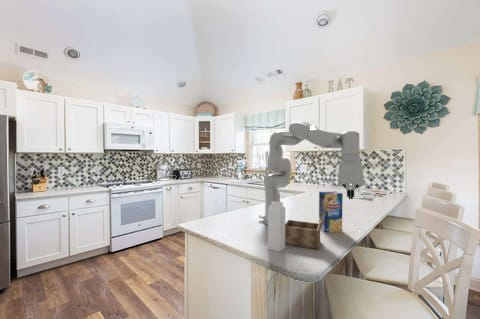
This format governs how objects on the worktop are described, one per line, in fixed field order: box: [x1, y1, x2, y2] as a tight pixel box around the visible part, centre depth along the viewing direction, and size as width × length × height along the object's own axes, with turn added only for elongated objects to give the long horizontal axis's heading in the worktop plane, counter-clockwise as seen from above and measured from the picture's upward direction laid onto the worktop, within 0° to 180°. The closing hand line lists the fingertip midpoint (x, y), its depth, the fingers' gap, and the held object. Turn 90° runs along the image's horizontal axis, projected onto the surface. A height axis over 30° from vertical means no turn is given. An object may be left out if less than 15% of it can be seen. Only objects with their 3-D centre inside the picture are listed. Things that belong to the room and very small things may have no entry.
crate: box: [285, 219, 321, 251], centre depth 113 cm, size 16×12×9 cm
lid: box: [319, 193, 332, 232], centre depth 109 cm, size 16×12×2 cm
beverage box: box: [318, 191, 343, 233], centre depth 134 cm, size 7×11×22 cm, turn 99°
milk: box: [267, 201, 286, 253], centre depth 106 cm, size 6×6×22 cm
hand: (350, 198), depth 104 cm, fingers closed
